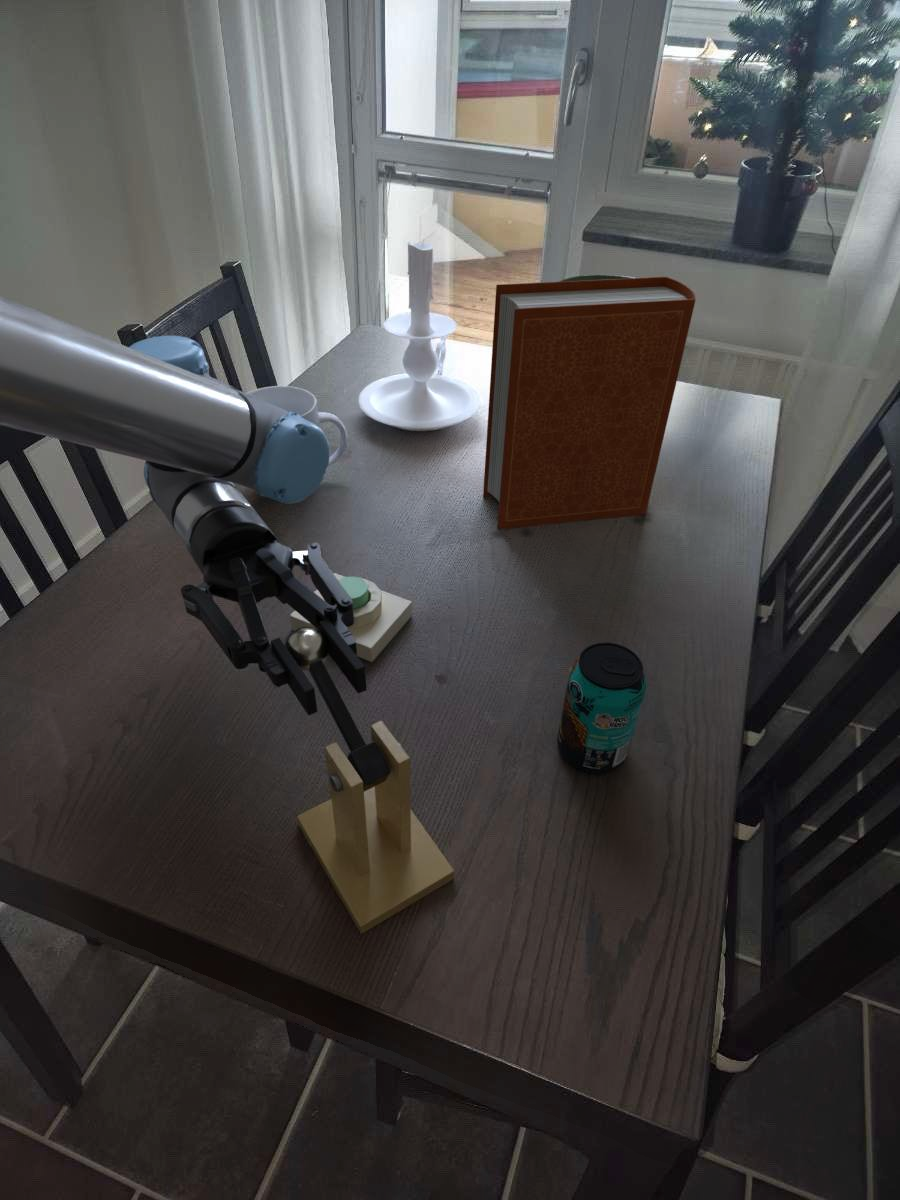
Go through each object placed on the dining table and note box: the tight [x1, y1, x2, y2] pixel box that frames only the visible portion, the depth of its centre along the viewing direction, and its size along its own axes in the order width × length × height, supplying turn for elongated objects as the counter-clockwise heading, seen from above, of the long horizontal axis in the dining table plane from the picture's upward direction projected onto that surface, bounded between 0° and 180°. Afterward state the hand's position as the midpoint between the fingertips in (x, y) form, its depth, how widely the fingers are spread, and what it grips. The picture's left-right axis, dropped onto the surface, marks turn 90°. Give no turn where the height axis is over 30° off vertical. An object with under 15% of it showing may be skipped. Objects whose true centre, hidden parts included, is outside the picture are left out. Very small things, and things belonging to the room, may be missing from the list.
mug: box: [245, 385, 348, 467], centre depth 107 cm, size 15×11×13 cm
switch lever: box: [284, 627, 391, 792], centre depth 61 cm, size 14×4×4 cm, turn 33°
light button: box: [338, 575, 368, 610], centre depth 86 cm, size 4×4×2 cm
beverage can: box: [556, 642, 648, 774], centre depth 72 cm, size 7×7×12 cm
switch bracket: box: [296, 720, 455, 935], centre depth 62 cm, size 12×9×14 cm
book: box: [482, 276, 697, 530], centre depth 99 cm, size 23×8×30 cm, turn 102°
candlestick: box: [357, 238, 483, 432], centre depth 121 cm, size 21×25×28 cm
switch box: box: [289, 572, 413, 663], centre depth 88 cm, size 11×9×4 cm
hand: (336, 690), depth 59 cm, fingers closed on switch lever, 4 cm apart
